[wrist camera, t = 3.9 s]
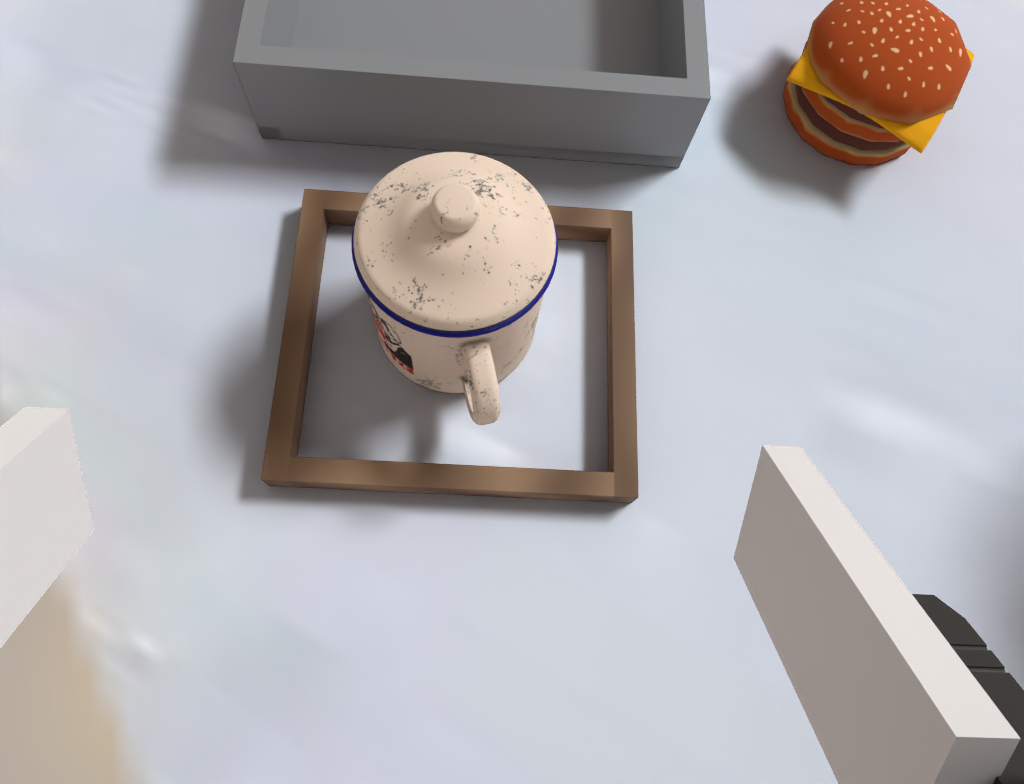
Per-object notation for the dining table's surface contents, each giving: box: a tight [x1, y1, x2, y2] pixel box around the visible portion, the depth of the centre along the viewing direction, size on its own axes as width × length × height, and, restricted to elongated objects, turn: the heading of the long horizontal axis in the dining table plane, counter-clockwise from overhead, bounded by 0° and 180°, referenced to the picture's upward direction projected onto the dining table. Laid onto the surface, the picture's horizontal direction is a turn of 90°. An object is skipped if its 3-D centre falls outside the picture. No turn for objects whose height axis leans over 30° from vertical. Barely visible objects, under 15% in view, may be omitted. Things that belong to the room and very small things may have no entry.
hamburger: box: [783, 0, 974, 165], centre depth 44 cm, size 9×10×7 cm
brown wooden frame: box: [261, 189, 638, 503], centre depth 39 cm, size 18×16×2 cm
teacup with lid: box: [352, 152, 558, 425], centre depth 35 cm, size 12×9×12 cm
